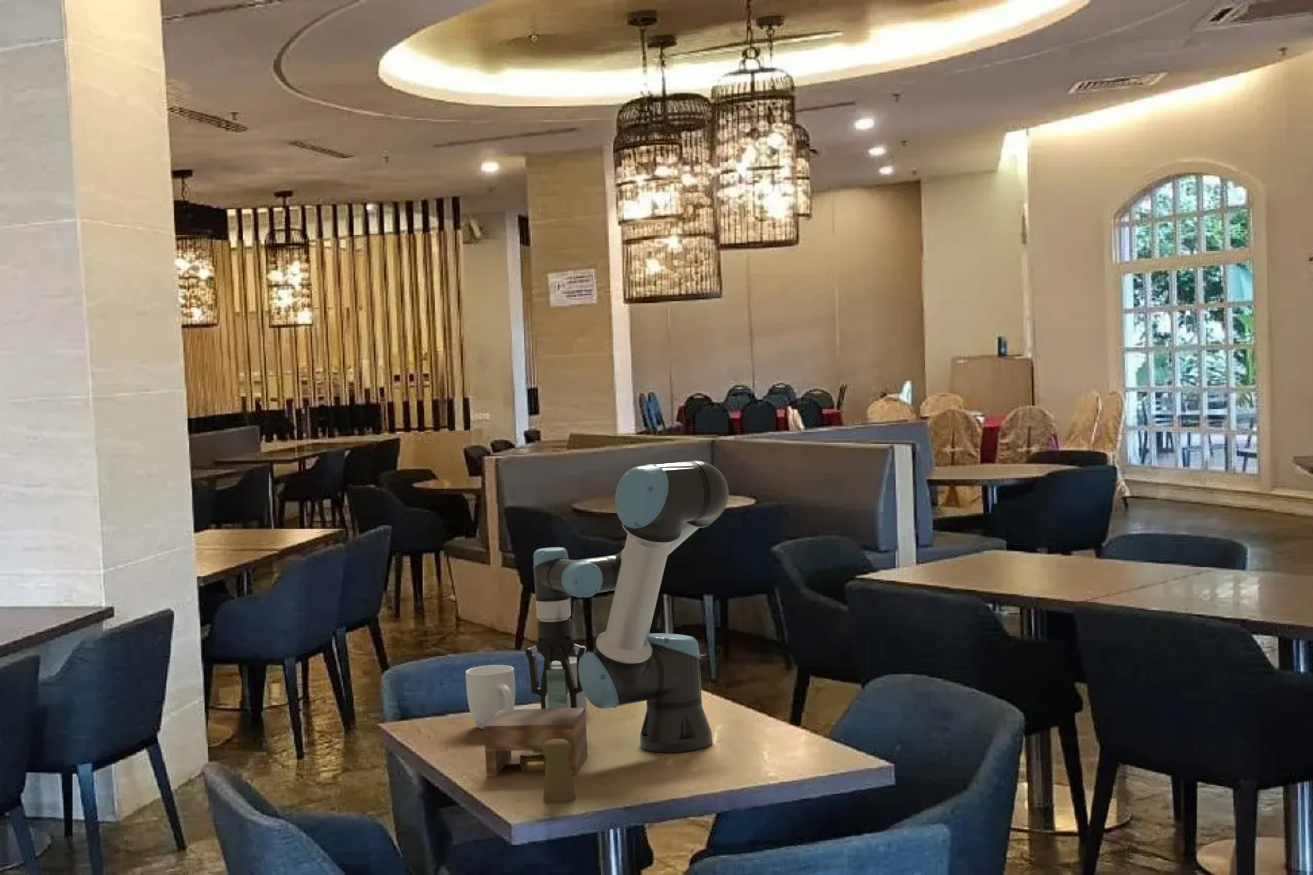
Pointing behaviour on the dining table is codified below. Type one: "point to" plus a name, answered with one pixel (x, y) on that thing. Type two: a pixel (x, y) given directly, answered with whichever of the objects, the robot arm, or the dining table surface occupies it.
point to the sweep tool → (556, 688)
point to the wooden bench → (534, 734)
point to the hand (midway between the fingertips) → (560, 724)
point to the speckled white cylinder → (573, 663)
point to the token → (533, 761)
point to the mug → (489, 691)
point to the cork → (557, 772)
